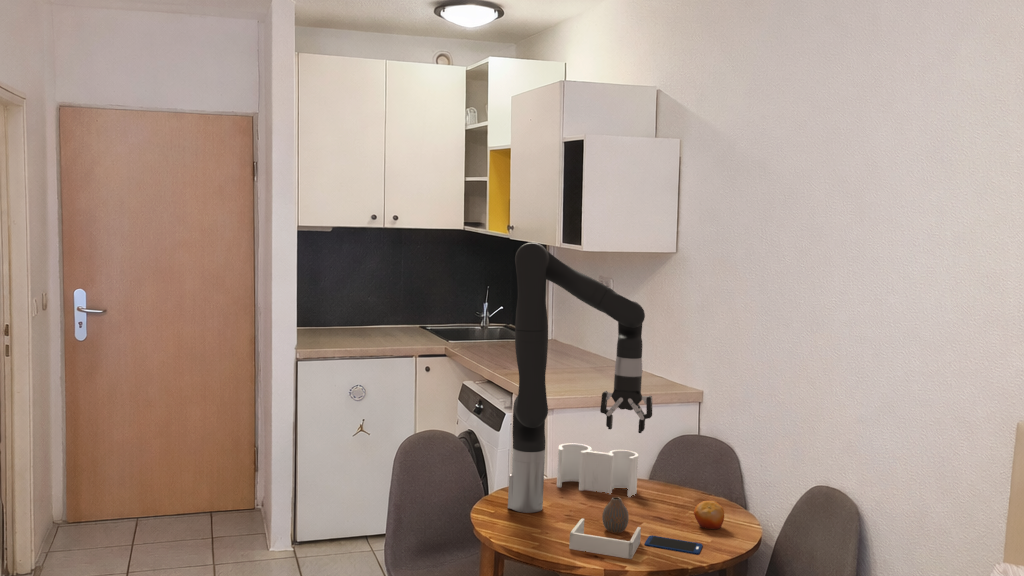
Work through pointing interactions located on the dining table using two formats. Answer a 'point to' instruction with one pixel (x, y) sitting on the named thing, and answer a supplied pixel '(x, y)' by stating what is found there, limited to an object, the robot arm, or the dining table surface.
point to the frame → (603, 543)
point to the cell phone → (674, 544)
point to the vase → (615, 516)
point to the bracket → (597, 468)
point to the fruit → (709, 515)
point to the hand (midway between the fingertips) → (625, 430)
